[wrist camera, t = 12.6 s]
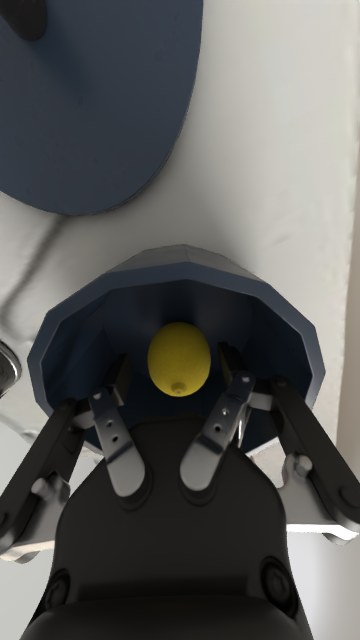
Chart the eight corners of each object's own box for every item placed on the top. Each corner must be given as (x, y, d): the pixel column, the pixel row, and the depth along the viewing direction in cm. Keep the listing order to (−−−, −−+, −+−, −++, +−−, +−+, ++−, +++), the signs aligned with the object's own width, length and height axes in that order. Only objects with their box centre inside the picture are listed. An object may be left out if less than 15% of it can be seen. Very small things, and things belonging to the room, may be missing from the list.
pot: (125, 388, 24) (96, 475, 15) (71, 260, 16) (-53, 295, 7) (251, 376, 23) (293, 462, 14) (263, 231, 15) (378, 234, 6)
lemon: (207, 310, 18) (226, 364, 10) (200, 352, 20) (212, 418, 13) (153, 307, 17) (136, 360, 10) (154, 350, 20) (140, 416, 13)
